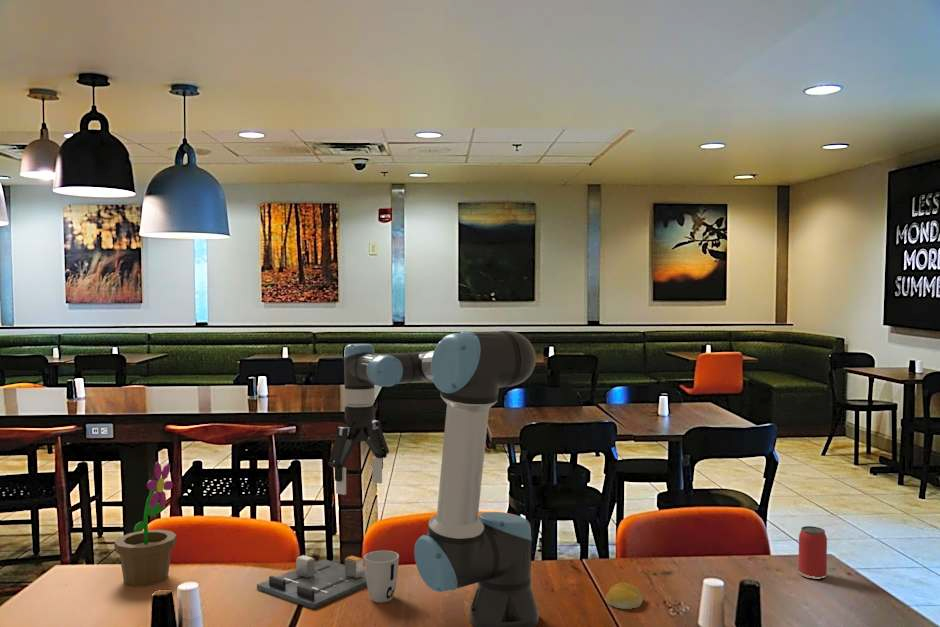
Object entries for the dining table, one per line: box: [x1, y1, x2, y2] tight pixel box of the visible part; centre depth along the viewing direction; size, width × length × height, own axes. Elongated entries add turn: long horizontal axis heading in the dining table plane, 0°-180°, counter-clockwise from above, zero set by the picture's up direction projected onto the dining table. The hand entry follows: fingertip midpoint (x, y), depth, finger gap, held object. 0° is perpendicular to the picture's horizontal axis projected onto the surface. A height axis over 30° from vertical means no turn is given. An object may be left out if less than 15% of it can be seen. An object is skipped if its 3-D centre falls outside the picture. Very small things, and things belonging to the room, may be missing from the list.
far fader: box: [295, 554, 315, 578], centre depth 190 cm, size 4×2×4 cm, turn 54°
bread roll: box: [605, 582, 644, 610], centre depth 178 cm, size 8×9×4 cm
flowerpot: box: [113, 461, 177, 587], centre depth 191 cm, size 14×14×30 cm
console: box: [256, 558, 367, 610], centre depth 188 cm, size 20×22×3 cm
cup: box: [363, 550, 400, 603], centre depth 179 cm, size 8×8×10 cm
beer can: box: [798, 525, 828, 577], centre depth 195 cm, size 7×7×12 cm
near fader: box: [344, 555, 364, 578], centre depth 190 cm, size 4×2×4 cm, turn 54°
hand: (359, 488), depth 193 cm, fingers open, 13 cm apart
